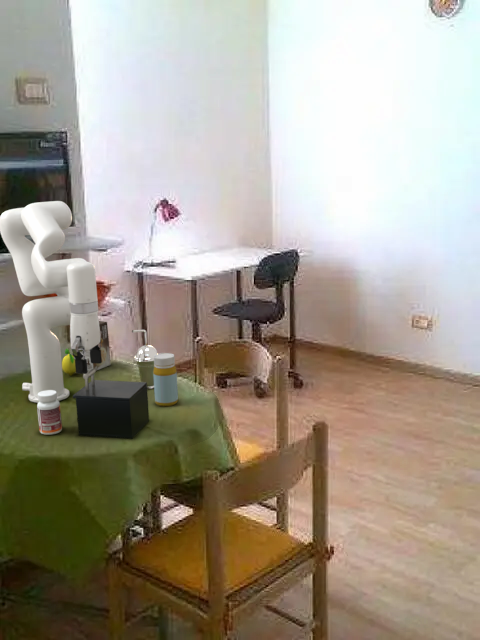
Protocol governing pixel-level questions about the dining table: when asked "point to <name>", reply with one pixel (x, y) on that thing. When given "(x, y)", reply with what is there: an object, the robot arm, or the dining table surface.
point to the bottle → (165, 379)
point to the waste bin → (113, 416)
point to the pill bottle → (49, 412)
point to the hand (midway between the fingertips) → (89, 368)
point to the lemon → (68, 363)
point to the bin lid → (108, 389)
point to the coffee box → (104, 349)
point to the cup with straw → (146, 362)
